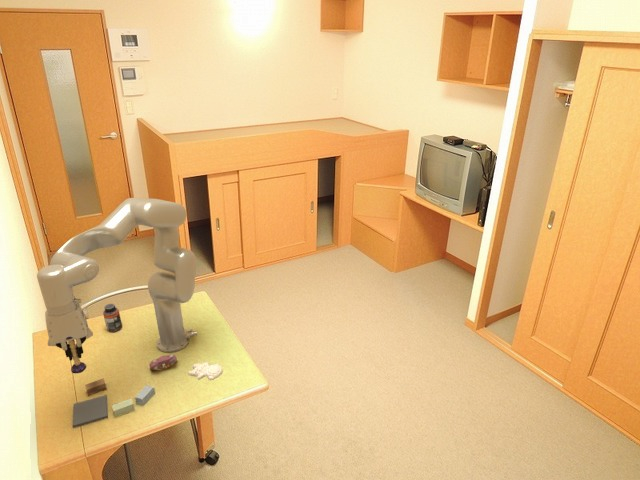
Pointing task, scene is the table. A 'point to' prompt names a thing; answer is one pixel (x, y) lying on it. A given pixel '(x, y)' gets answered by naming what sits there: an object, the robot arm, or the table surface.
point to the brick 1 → (95, 387)
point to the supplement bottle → (112, 318)
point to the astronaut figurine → (206, 371)
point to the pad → (90, 411)
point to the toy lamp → (75, 358)
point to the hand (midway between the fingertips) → (75, 356)
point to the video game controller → (163, 362)
